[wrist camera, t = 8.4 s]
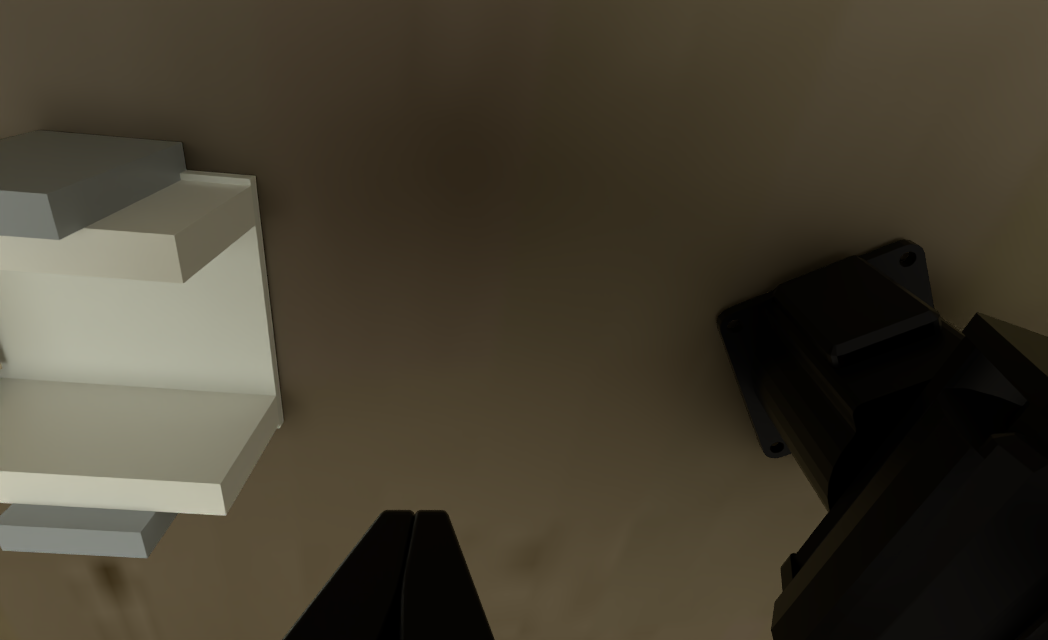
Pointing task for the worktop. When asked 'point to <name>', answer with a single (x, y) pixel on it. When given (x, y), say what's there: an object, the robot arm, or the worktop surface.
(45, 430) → the chute
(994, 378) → the robot arm
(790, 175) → the worktop surface
